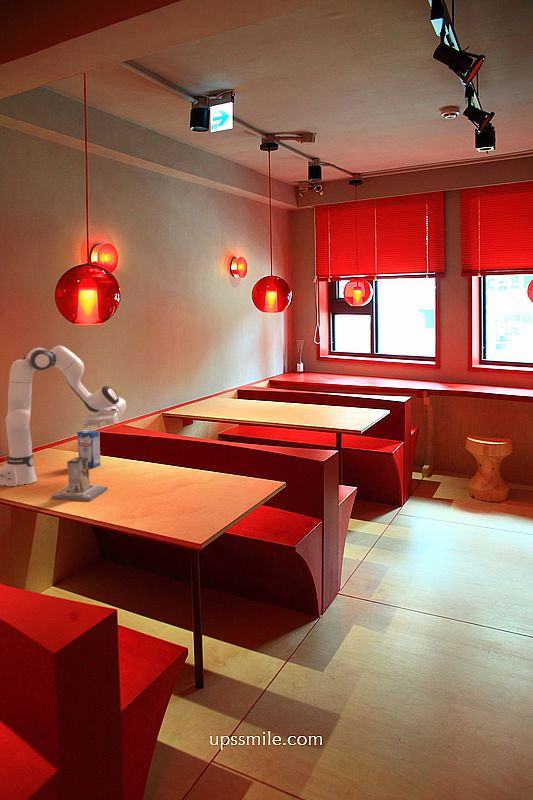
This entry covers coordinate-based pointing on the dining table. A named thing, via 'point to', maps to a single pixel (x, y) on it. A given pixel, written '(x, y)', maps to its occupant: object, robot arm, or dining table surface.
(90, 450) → the milk carton
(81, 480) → the coffee box
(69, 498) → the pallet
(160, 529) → the dining table surface
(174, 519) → the dining table surface
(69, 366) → the robot arm
